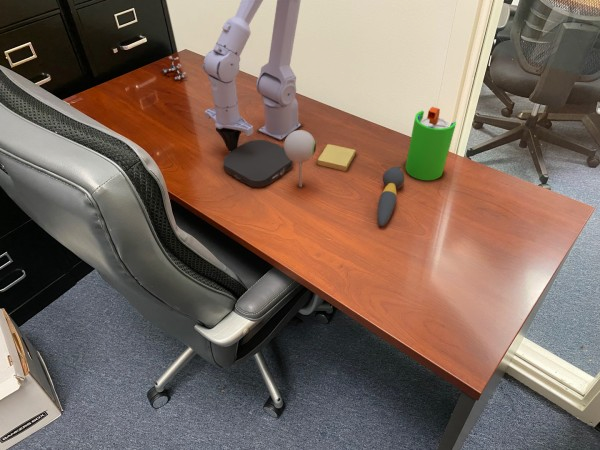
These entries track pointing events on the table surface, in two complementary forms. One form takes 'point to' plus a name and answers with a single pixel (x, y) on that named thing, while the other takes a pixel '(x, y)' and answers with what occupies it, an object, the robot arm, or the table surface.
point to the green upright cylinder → (429, 145)
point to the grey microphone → (389, 193)
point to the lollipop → (299, 148)
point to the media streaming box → (257, 162)
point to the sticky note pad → (336, 157)
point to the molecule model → (175, 69)
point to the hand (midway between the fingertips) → (232, 149)
